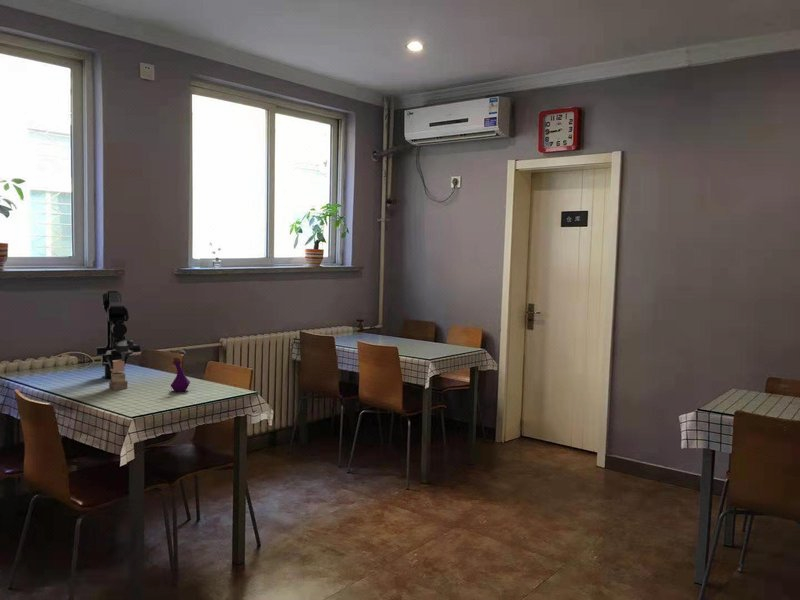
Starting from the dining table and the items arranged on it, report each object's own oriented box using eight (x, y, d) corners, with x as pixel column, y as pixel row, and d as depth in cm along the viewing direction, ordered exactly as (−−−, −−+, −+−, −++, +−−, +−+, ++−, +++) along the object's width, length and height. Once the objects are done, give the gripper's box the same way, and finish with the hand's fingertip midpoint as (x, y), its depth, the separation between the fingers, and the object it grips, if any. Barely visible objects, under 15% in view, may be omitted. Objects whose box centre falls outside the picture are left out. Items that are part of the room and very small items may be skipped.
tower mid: (111, 380, 301) (111, 372, 300) (123, 379, 303) (123, 371, 303) (113, 382, 296) (113, 374, 296) (125, 381, 299) (125, 373, 299)
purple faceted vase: (170, 392, 293) (170, 351, 292) (172, 389, 300) (172, 349, 299) (188, 392, 294) (188, 351, 293) (190, 389, 302) (190, 349, 301)
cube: (110, 370, 300) (110, 360, 299) (120, 369, 303) (120, 359, 302) (114, 372, 296) (113, 362, 296) (124, 371, 299) (124, 361, 299)
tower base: (109, 388, 300) (109, 380, 299) (120, 386, 304) (120, 379, 304) (115, 390, 296) (115, 382, 296) (127, 388, 301) (127, 380, 300)
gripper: (101, 337, 286) (101, 373, 287) (145, 334, 298) (145, 369, 300) (92, 334, 295) (93, 369, 296) (136, 331, 307) (136, 365, 308)
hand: (117, 368), depth 299 cm, fingers closed on cube, 4 cm apart
